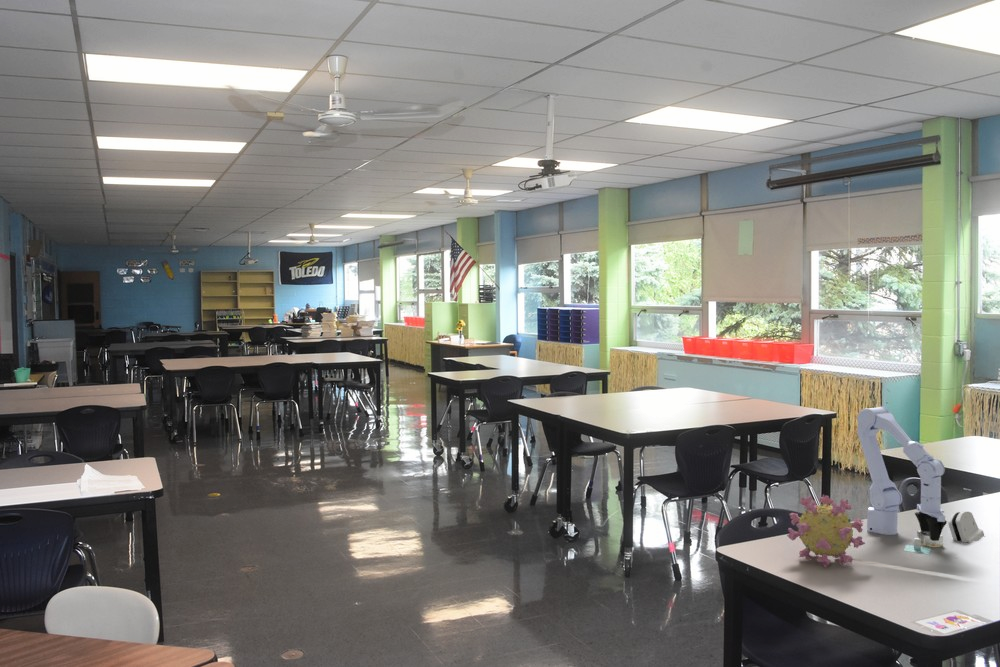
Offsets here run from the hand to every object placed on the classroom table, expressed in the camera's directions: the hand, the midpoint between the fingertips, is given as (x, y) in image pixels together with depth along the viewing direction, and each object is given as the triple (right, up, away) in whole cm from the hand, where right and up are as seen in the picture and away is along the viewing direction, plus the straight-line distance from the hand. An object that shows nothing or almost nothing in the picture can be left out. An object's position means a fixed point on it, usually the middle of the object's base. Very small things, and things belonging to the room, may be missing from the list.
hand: (930, 537), depth 252 cm
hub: (0, -3, 0) cm, 3 cm away
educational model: (-40, -4, -14) cm, 43 cm away
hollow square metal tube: (0, -2, 0) cm, 2 cm away
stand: (-7, -3, -6) cm, 10 cm away
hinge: (+17, -3, +8) cm, 19 cm away
